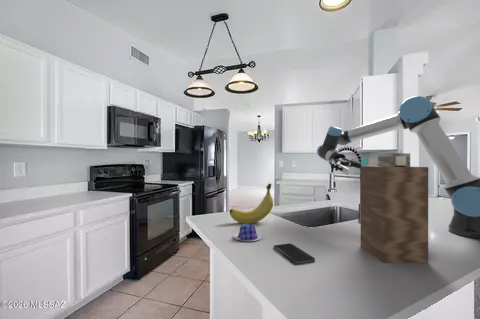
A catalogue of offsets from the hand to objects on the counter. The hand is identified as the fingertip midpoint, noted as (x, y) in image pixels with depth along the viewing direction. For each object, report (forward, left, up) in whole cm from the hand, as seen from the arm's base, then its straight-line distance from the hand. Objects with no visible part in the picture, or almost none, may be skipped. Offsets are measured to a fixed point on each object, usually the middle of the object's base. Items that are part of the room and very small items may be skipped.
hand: (361, 172), depth 106 cm
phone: (+37, +27, -27) cm, 53 cm away
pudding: (+52, +10, -27) cm, 59 cm away
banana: (+49, -13, -27) cm, 58 cm away
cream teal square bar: (+3, +20, +3) cm, 20 cm away
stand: (+3, +26, -27) cm, 37 cm away
